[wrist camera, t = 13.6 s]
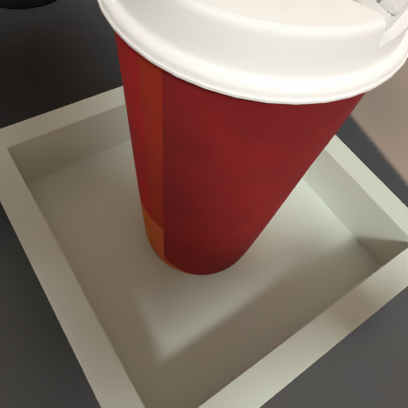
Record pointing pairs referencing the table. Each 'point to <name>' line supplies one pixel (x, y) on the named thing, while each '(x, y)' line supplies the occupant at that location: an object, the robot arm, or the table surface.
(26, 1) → the aerosol can
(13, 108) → the table surface
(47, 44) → the table surface
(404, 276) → the tray
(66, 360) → the table surface
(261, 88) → the paper cup
